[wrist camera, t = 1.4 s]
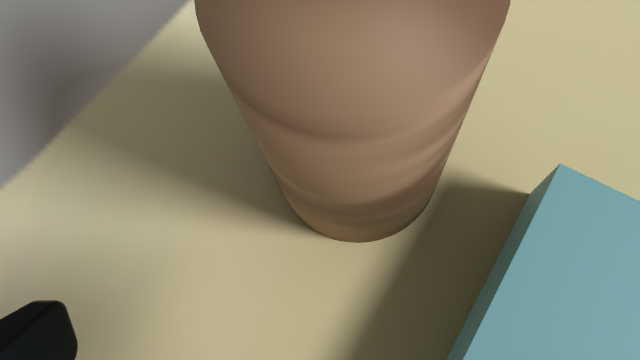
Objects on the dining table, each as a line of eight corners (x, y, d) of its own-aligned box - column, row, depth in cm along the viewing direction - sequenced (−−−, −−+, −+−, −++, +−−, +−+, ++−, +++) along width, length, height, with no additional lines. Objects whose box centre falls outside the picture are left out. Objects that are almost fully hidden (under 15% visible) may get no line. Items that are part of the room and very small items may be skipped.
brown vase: (388, 273, 21) (414, 179, 10) (249, 192, 23) (132, 30, 11) (465, 137, 23) (566, -81, 11) (330, 70, 24) (300, -178, 13)
